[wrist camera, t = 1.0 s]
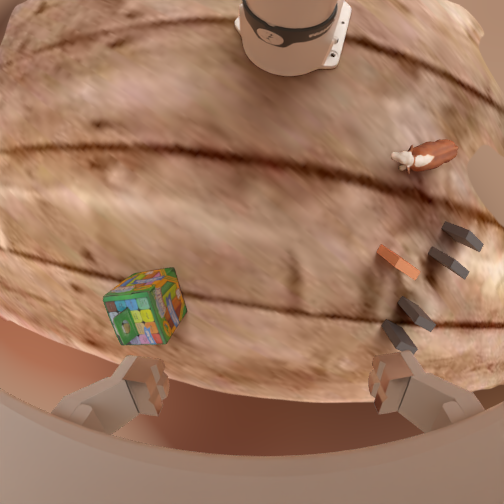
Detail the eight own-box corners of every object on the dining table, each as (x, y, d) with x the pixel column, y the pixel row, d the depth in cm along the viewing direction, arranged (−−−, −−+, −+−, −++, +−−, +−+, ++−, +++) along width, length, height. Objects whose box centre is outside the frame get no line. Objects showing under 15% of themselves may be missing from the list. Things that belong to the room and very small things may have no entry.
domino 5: (432, 246, 44) (454, 259, 36) (446, 257, 44) (469, 271, 37) (427, 253, 45) (450, 267, 37) (442, 264, 45) (464, 279, 37)
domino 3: (385, 319, 49) (401, 341, 41) (402, 327, 49) (417, 349, 41) (381, 325, 49) (395, 348, 41) (397, 333, 49) (412, 355, 42)
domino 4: (445, 221, 43) (469, 230, 35) (459, 233, 43) (483, 244, 35) (441, 228, 43) (465, 238, 35) (455, 240, 43) (479, 252, 36)
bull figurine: (375, 151, 41) (395, 147, 33) (437, 139, 39) (462, 136, 31) (382, 176, 42) (403, 178, 34) (442, 163, 40) (468, 163, 32)
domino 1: (381, 244, 45) (399, 257, 37) (400, 256, 45) (420, 271, 37) (376, 252, 45) (394, 266, 38) (395, 264, 46) (415, 280, 38)
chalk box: (188, 311, 51) (161, 358, 36) (146, 315, 52) (112, 358, 38) (174, 265, 48) (140, 301, 34) (131, 272, 49) (89, 306, 35)
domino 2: (402, 295, 47) (420, 315, 40) (417, 305, 48) (436, 324, 40) (397, 302, 48) (414, 323, 40) (413, 311, 48) (430, 332, 40)
